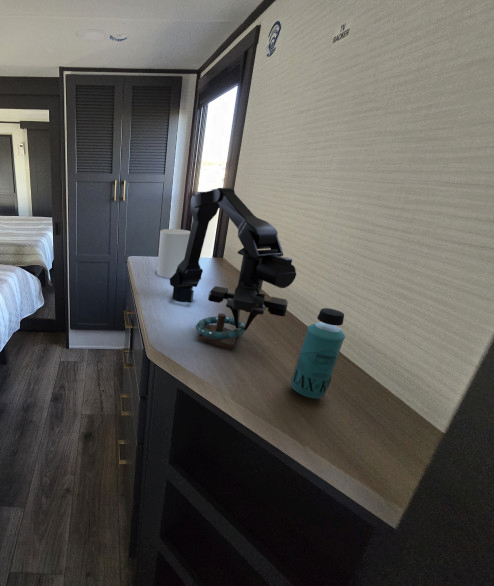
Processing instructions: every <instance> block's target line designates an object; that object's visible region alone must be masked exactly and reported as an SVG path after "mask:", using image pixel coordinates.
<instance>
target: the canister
mask: <svg viewBox="0 0 494 586" xmlns="http://www.w3.org/2000/svg"><path fill="white" fill-rule="evenodd" d="M190 231H191V230H187V229H179V228H165V229H161V230H160V232H159V243H158V245H159V246H158V255H157V256H158V257H157V266H156V267H157V269H156V274H157V276H159V277H160V278H161V277H162V278H164V279H170V278H171V277H172V276H173V275H174V274H175V273H176V270H177V267H178V265H179V264H180V263H181V262H182V261H183V260H184V257H185V253H186V249H187V244H188V240H189V236H190Z"/></svg>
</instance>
